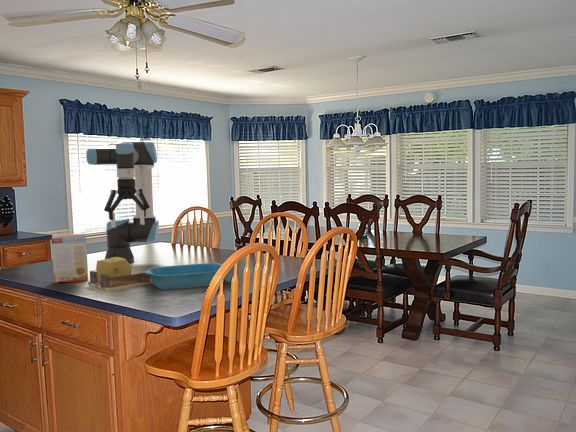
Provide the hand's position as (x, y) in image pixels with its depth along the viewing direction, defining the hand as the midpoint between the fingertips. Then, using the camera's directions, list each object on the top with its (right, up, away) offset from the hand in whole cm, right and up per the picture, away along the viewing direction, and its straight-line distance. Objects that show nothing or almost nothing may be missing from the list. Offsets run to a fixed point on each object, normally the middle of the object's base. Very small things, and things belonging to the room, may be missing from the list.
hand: (128, 225), depth 231 cm
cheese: (-3, -24, -8) cm, 26 cm away
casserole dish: (+29, -25, -8) cm, 39 cm away
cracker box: (-25, -25, 0) cm, 36 cm away
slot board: (+1, -25, -4) cm, 25 cm away
